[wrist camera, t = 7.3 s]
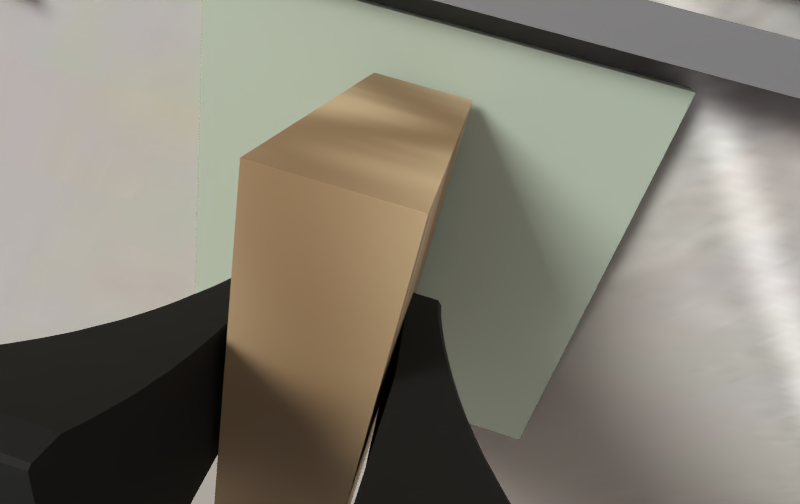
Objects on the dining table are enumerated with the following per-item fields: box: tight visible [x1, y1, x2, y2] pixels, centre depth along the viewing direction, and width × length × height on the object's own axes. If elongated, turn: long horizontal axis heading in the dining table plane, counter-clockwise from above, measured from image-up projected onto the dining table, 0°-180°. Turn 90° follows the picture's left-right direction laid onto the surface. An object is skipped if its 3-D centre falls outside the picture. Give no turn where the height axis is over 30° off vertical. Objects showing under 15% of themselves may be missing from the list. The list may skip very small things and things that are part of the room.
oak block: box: [215, 73, 473, 504], centre depth 12 cm, size 2×9×7 cm, turn 167°
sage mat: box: [195, 0, 696, 440], centre depth 15 cm, size 12×12×1 cm
